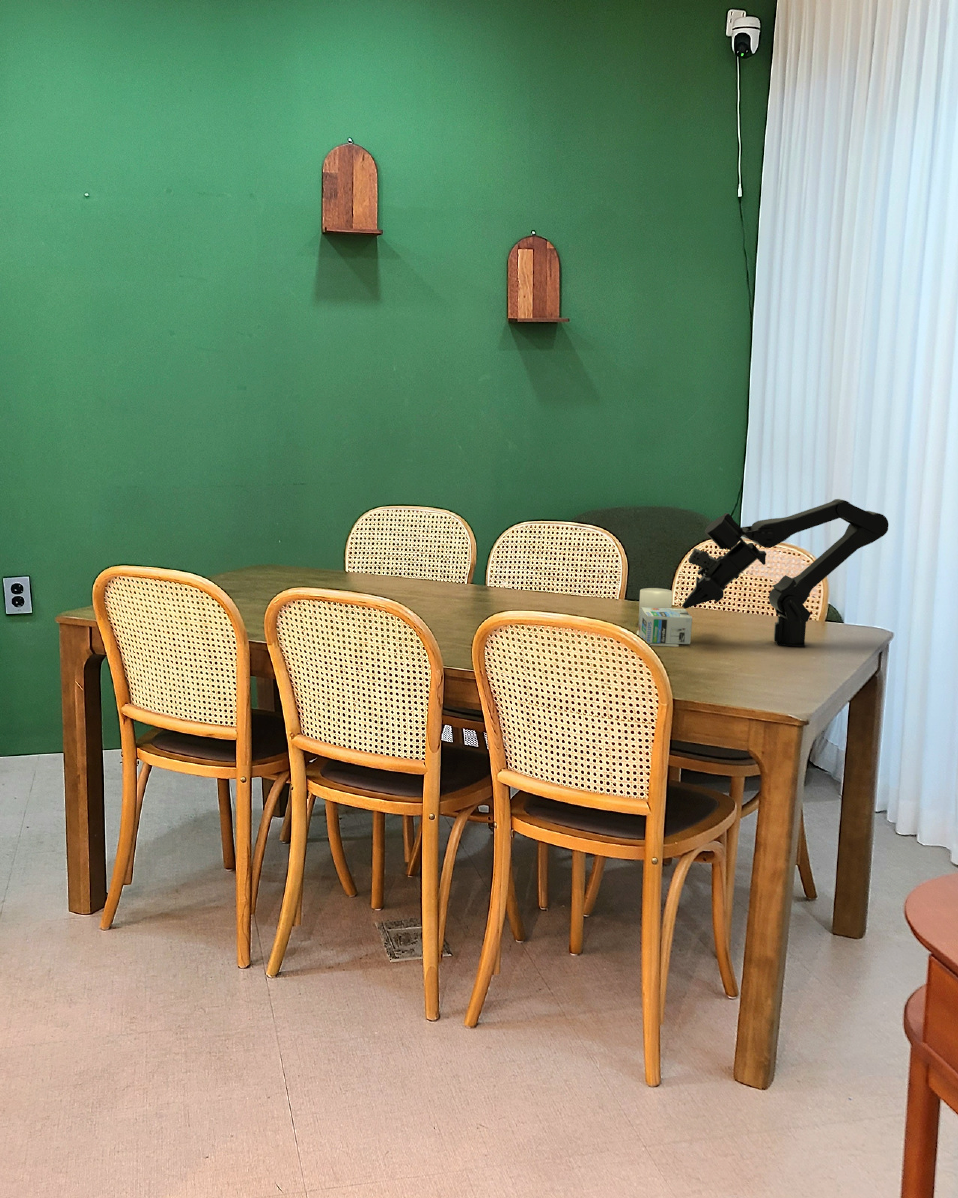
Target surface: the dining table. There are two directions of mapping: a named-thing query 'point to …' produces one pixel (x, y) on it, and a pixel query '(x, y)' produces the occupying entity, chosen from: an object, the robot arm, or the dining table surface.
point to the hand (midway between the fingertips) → (683, 607)
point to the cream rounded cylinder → (655, 598)
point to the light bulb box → (665, 625)
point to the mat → (660, 643)
